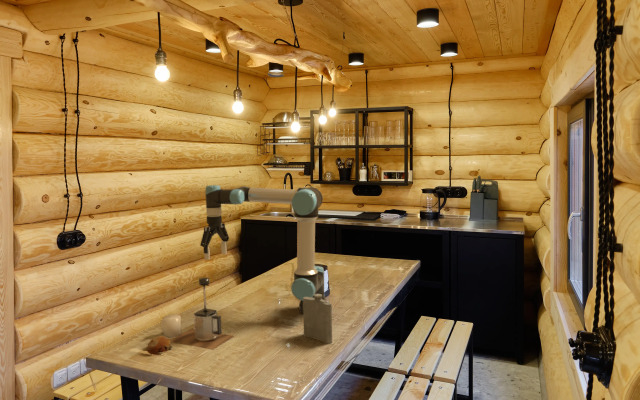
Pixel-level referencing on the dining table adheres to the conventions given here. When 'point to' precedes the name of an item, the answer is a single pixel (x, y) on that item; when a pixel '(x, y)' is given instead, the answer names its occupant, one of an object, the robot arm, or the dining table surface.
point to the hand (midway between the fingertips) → (215, 256)
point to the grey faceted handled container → (207, 325)
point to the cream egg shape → (171, 325)
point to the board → (190, 339)
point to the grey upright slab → (317, 318)
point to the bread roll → (159, 345)
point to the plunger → (204, 291)
